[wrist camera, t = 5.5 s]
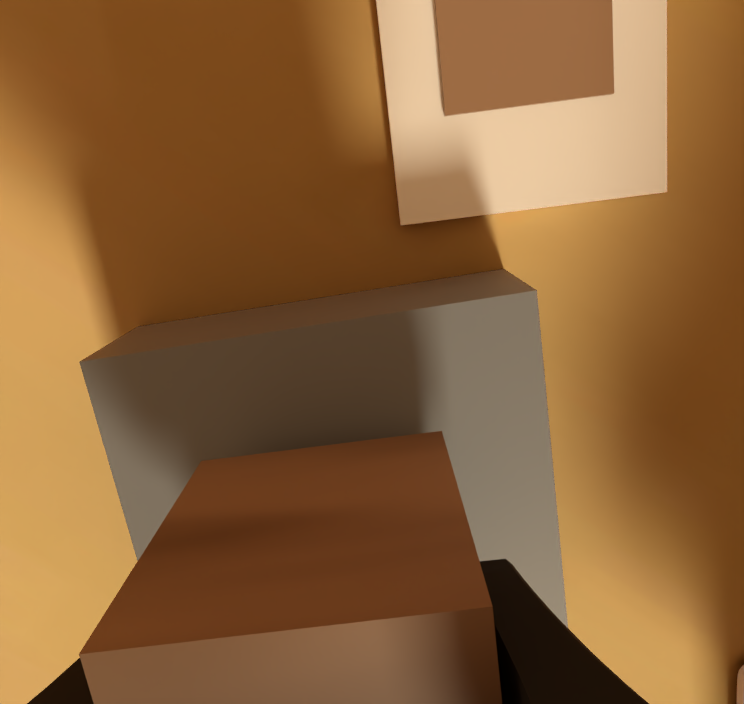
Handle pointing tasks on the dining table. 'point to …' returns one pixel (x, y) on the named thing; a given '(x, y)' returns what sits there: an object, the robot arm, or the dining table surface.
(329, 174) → the dining table surface
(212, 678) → the walnut block
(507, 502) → the base block
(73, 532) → the dining table surface
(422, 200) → the card
